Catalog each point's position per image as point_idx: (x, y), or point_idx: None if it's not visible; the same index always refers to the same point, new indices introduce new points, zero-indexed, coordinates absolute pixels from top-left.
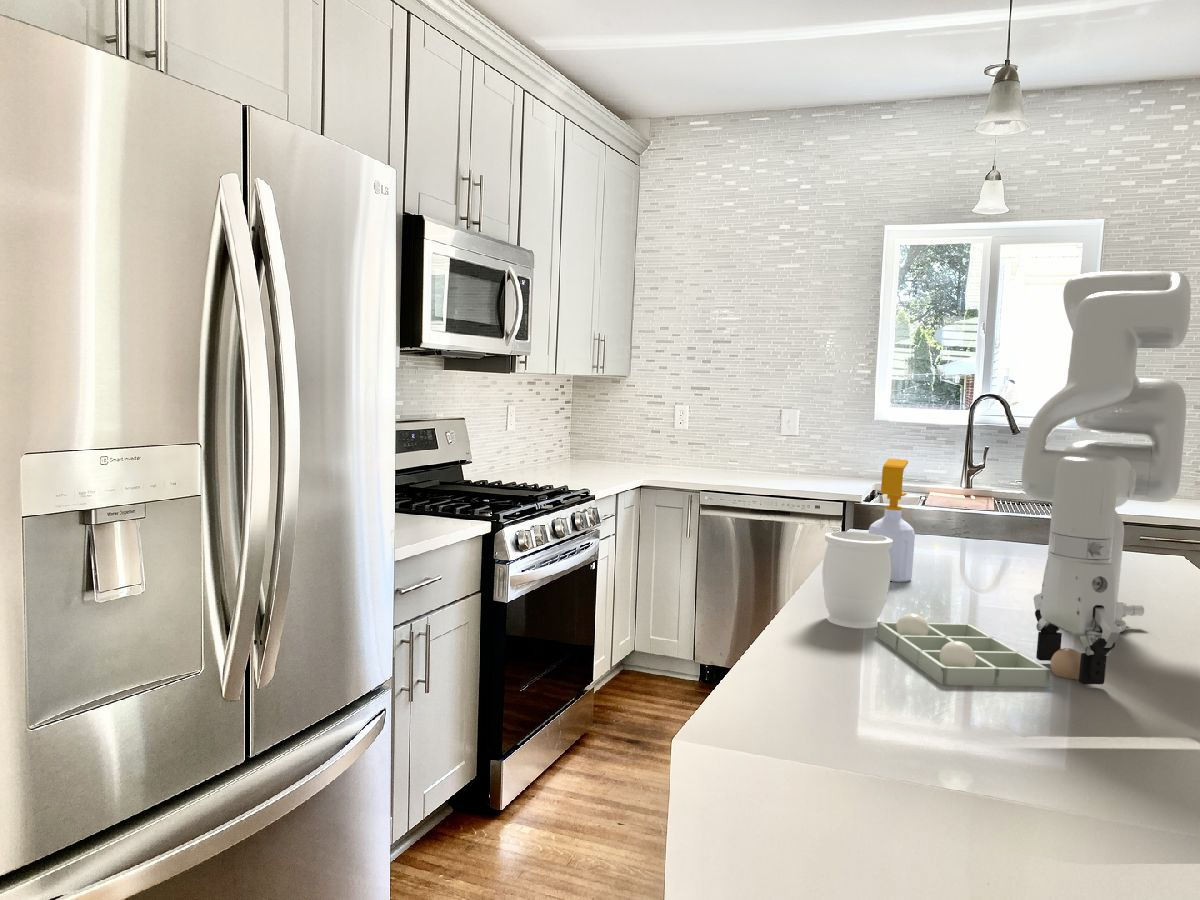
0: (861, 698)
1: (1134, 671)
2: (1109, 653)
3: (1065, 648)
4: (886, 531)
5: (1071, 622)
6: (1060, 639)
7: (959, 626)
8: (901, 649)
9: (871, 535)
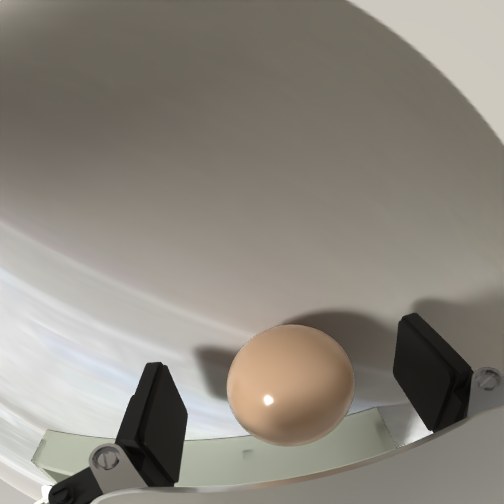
0: None
1: (98, 54)
2: (497, 372)
3: (287, 442)
4: None
5: None
6: (150, 425)
7: (53, 474)
8: None
9: None
